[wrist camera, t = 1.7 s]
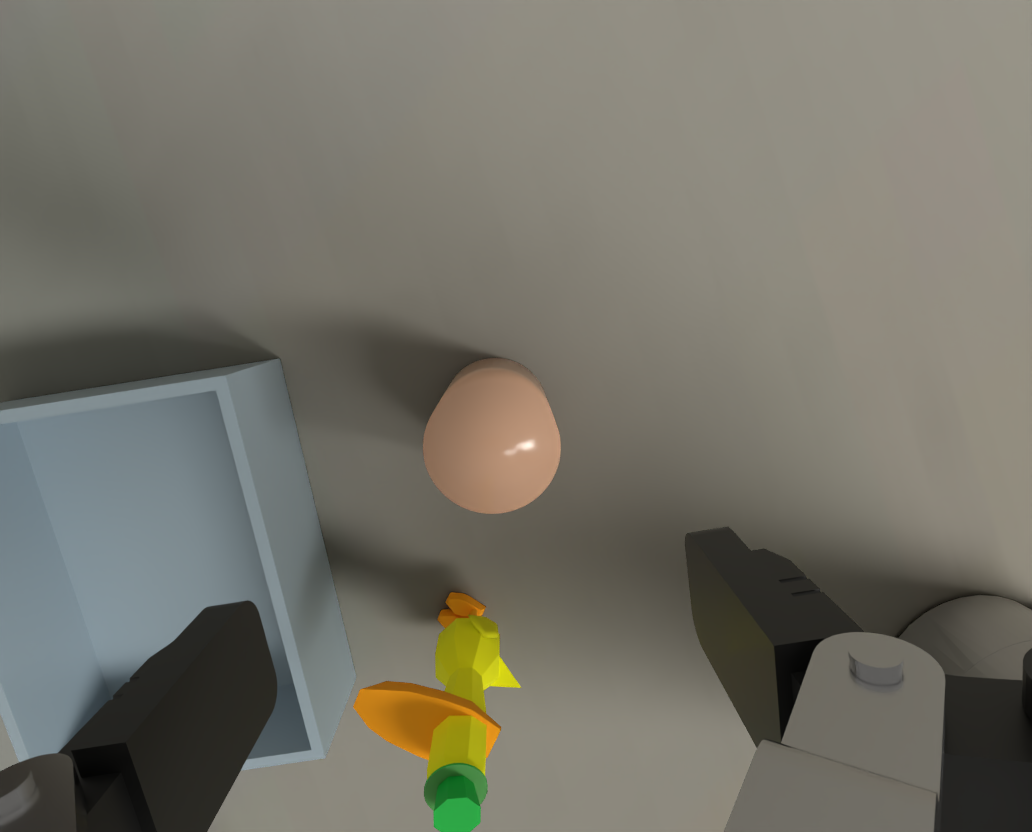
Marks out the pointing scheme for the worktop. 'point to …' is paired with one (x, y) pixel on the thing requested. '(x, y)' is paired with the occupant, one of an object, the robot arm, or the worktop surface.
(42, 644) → the tote
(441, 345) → the worktop surface
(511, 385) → the brown egg
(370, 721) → the toy figure
